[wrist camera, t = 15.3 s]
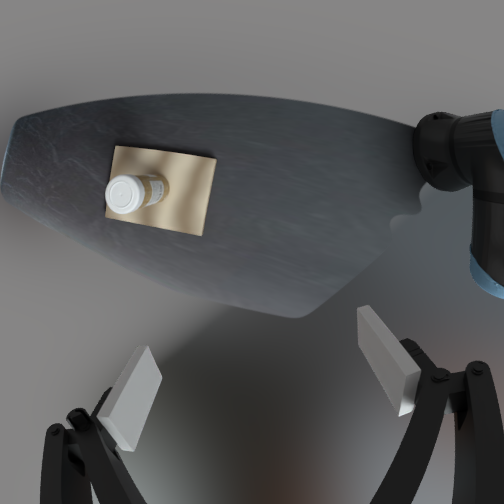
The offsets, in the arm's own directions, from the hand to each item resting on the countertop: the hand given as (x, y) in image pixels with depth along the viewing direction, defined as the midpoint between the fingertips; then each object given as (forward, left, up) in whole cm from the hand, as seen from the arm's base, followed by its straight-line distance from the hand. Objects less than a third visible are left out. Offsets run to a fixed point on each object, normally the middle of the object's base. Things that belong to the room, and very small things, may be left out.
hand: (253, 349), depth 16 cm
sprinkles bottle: (+16, -5, -29) cm, 33 cm away
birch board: (+16, -5, -30) cm, 35 cm away
